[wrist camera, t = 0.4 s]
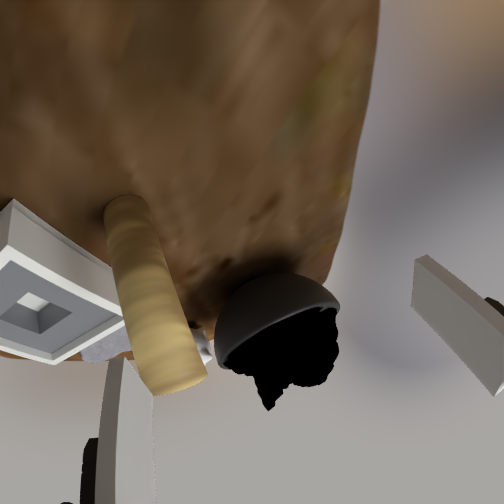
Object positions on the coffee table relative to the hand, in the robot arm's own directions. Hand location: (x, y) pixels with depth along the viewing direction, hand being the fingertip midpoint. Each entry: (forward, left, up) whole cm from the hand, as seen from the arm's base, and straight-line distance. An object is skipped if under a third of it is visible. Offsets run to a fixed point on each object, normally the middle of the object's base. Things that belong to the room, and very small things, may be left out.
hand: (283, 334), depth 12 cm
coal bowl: (+33, -3, -18) cm, 38 cm away
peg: (+6, -8, -18) cm, 20 cm away
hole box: (+6, -22, -18) cm, 29 cm away
